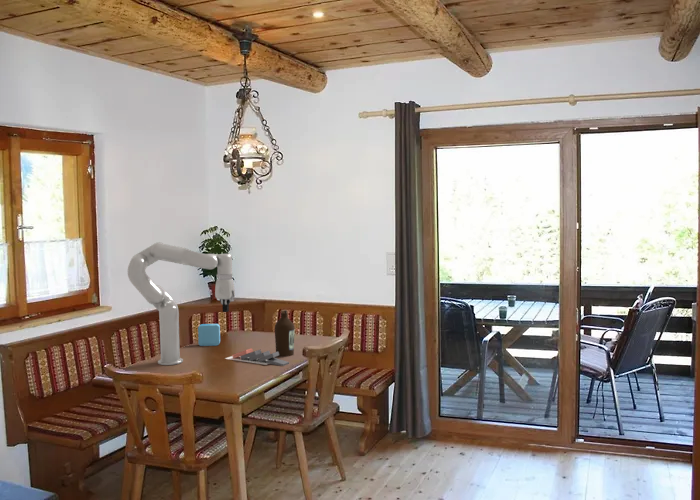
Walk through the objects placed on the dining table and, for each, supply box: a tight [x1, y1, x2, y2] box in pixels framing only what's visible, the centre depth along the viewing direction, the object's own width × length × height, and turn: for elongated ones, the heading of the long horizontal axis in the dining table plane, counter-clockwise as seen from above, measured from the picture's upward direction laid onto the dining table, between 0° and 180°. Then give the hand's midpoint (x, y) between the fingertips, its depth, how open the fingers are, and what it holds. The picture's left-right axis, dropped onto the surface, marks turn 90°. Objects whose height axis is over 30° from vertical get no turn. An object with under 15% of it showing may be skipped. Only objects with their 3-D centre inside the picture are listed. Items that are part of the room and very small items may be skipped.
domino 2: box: [249, 350, 271, 361], centre depth 334 cm, size 2×5×10 cm
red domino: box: [231, 348, 254, 358], centre depth 340 cm, size 2×5×10 cm
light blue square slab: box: [197, 323, 221, 347], centre depth 377 cm, size 12×4×12 cm, turn 96°
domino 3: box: [258, 351, 279, 362], centre depth 331 cm, size 2×5×10 cm
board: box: [224, 355, 269, 366], centre depth 337 cm, size 27×9×1 cm, turn 60°
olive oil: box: [274, 309, 296, 357], centre depth 347 cm, size 11×11×25 cm
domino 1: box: [240, 349, 263, 360], centre depth 337 cm, size 2×5×10 cm
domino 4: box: [267, 357, 290, 367], centre depth 329 cm, size 2×5×10 cm
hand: (225, 311), depth 343 cm, fingers closed
